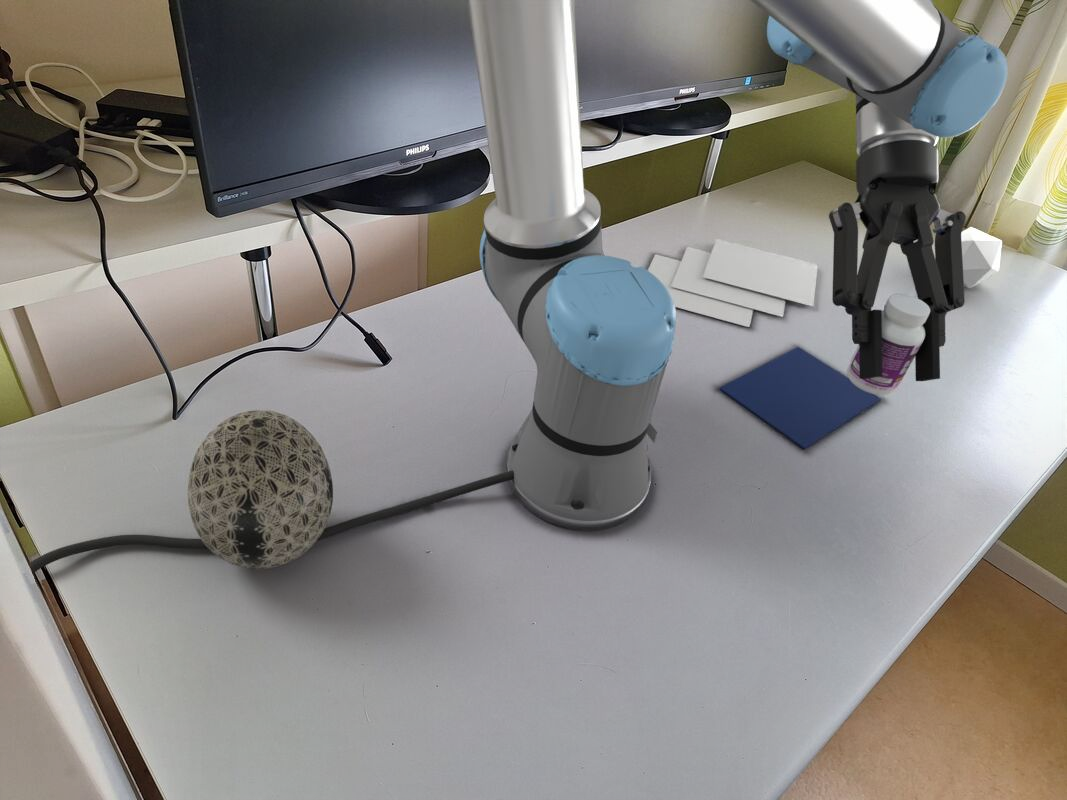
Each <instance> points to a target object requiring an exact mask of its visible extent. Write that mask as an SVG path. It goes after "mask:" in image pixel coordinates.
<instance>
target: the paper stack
mask: <svg viewBox="0 0 1067 800" xmlns="http://www.w3.org/2000/svg"><path fill="white" fill-rule="evenodd" d="M818 266H819V265H818V264H816V263H813V262H809V261H806V260H802V259H797V258H794V257H790V256H786V255H781V254H779V253H774V252H770V251H767V250H762V249H758V248H754V247H751V246H747V245H743V244H739V243H737V242H736V243H735V242H731V241H727V240H724V239H720V238H715V242H714V244H713V246H712V249H711V252H710V251H706V250H702V249H698V248H695V247H690V246H687V247H686V249H685V251H684V253H683V256H682V259H681V260H679V259H676V258H671V257H668V256H664V255H660V254H657V253H655V254H654V256H653V258H652V260H651V263H650V264H649V267H648V268H647V270H648V271H649V272H650V273H652V274H653V275H654V276H656V277H657V278H658V279H659V280H660V281H661V282H662V283H663V284H664V286H665V287H666V288H667V290H668V291H669V293H670V295H671V297H672V299H673V302H674V305H675V308H677V309H680V310H681V309H682V310H685V311H689V312H692V313H695V314H699V315H703V316H706V317H710V318H714V319H717V320H721V321H724V322H728V323H731V324H736V325H738V326H741V327H742V326H743V327H746V328H750V326H751V322H752V318H753V313H754V311H755V310H756V311H758V312H763V313H766V314H769V315H774V316H777V317H780V318H783V317H784V313H785V307H786V300H787V301H791V302H795V303H798V304H802V305H804V306H805V305H806V306H810V307H814V306H815V304H814V303H815V295H816V285H817V276H818V268H819V267H818Z"/></svg>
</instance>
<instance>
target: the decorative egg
mask: <svg viewBox="0 0 1067 800" xmlns="http://www.w3.org/2000/svg"><path fill="white" fill-rule="evenodd" d="M187 484H188V485H187V504H188V511H189V515H190V519H191V521H192V524H193V527H194V529H195V532H196V534H197V535H198V536H199V539H201V540H202V541H203V543H204V544H205V545H206V546H207V547H208V548H209V549H208V550H210V551H211V552H212V553H213V554H214V555H215V556H216V557H217V558H220V559H221V560H223V561H225V562H226V563H228V564H231V565H234V566H236V567H239V568H244V569H249V570H267V569H268V570H269V569H274V568H277V567H278V568H279V567H281V566H284V565H287V564H289V563H291V562H293V561H295V560H297V559H299V558H300V557H301V556H302V555H304V554H306V552H308V551H309V550H310V549H311V548H312V547H313V546H314V545H315V543H316V542H318V541H317V539H318V538H319V537H320V535H321V534H322V532H323V530H324V529H325V528H327V527H326V526H327V525H328V522H329V519H330V517H331V513H332V506H333V501H334V485H333V478H332V471H331V468H330V465H329V462H328V459H327V457H326V455H325V453H324V450H323V448H322V446H321V445H320V443H319V442H318V440H317V439H316V438H315V437H314V435H313V434H312V433H311V432H310V431H309V430H308V429H307V428H306V427H305V426H304V425H302V424H301V423H300V422H298V421H297V420H295V419H293V418H292V417H289V416H288V415H286V414H283V413H280V412H277V411H273V410H268V409H267V410H266V409H265V410H264V409H261V410H260V409H256V410H247V411H243V412H240V413H237V414H235V415H234V414H233V415H232V416H229V417H228V418H226V419H225V420H223V421H222V422H220V423H218V424H217V425H216V426H215V427H214V428H213V429H212V430H211V431H210V432H208V433H207V435H206V437H204V439H203V440H202V442H201V443H200V445H199V447H198V448H197V451H196V452H195V455H194V457H193V459H192V463H191V466H190V469H189V475H188V483H187Z"/></svg>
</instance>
